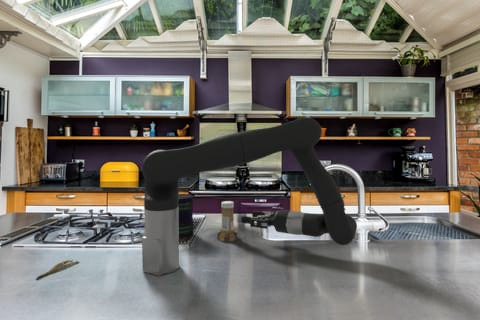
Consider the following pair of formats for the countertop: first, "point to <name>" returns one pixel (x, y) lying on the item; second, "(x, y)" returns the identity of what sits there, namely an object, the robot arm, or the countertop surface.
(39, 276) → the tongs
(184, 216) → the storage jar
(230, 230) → the sprinkles bottle
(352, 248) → the countertop surface
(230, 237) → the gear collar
